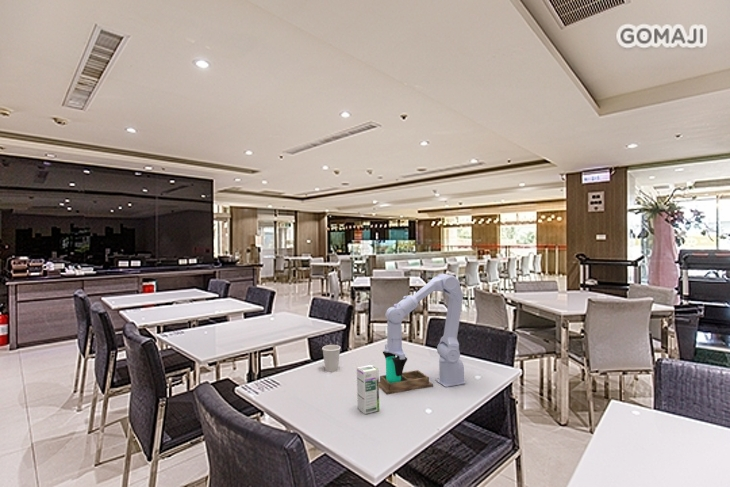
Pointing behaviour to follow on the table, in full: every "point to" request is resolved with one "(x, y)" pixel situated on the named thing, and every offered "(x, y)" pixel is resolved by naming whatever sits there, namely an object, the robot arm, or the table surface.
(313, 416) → the table surface
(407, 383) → the divided wooden tray
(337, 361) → the dixie cup
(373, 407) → the syrup box
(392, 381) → the candle
